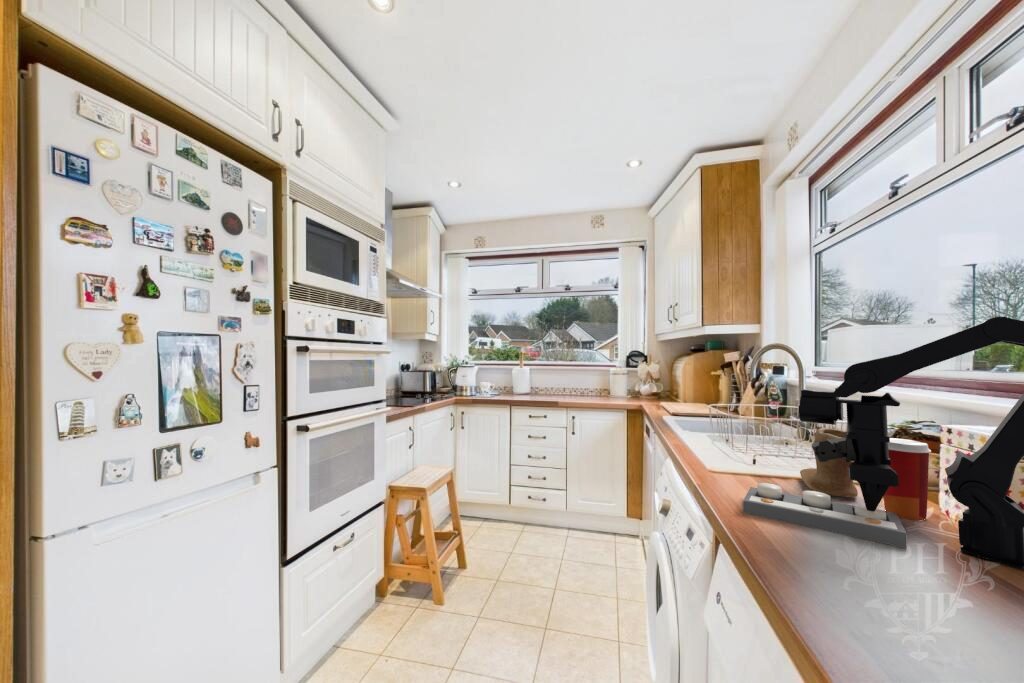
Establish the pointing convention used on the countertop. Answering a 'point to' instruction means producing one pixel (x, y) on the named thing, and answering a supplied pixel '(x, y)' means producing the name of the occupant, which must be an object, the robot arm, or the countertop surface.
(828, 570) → the countertop surface
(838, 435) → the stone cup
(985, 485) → the robot arm
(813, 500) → the button middle
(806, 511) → the button board
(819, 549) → the countertop surface
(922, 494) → the coffee cup
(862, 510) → the button
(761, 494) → the button
